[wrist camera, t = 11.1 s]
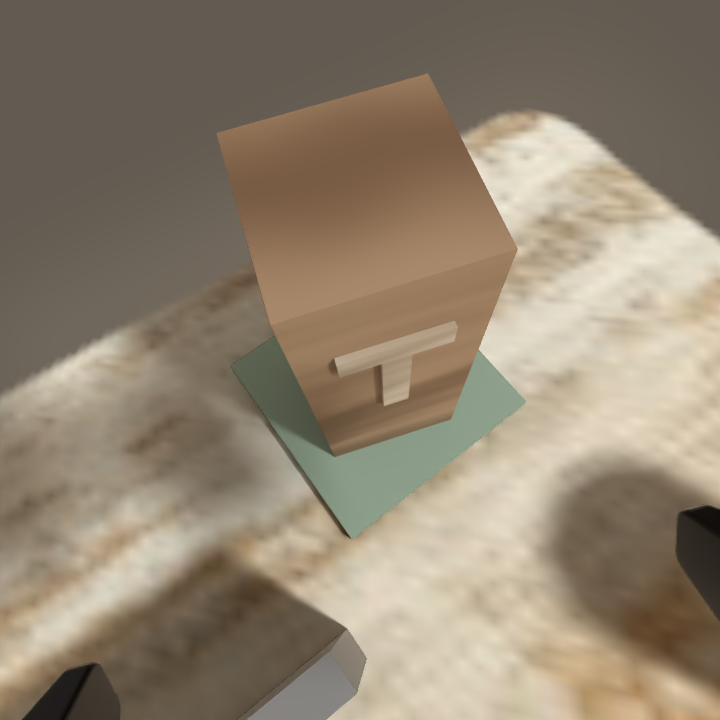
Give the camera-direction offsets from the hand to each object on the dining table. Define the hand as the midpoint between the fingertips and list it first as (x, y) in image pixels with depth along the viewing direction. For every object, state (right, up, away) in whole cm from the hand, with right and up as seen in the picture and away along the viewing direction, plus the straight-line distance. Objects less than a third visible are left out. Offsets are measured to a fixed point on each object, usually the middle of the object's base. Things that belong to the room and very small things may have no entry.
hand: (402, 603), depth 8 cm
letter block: (0, +3, +15) cm, 15 cm away
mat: (0, +3, +15) cm, 15 cm away
